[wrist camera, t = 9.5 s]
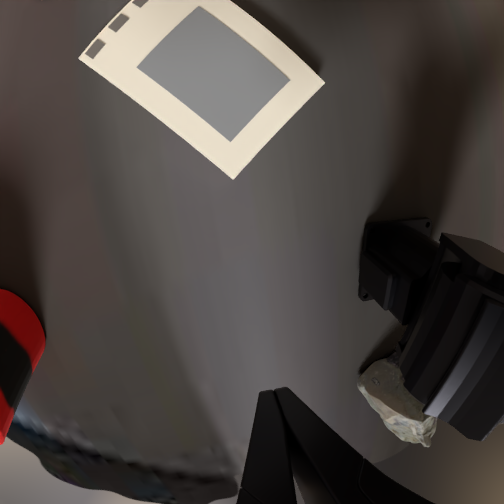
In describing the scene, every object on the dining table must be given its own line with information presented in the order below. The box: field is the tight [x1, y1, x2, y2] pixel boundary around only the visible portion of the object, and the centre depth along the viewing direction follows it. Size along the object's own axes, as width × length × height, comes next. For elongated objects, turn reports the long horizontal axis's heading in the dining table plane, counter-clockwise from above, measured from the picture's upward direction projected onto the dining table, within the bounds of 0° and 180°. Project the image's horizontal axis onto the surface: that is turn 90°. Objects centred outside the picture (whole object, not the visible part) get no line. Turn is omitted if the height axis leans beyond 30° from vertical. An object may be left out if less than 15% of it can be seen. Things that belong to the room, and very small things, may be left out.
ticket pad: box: [78, 0, 325, 179], centre depth 15 cm, size 12×8×2 cm, turn 47°
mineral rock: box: [357, 352, 438, 447], centre depth 26 cm, size 13×11×10 cm
